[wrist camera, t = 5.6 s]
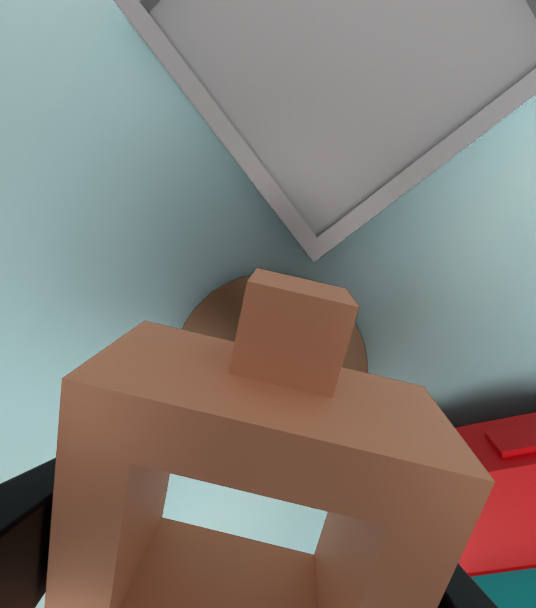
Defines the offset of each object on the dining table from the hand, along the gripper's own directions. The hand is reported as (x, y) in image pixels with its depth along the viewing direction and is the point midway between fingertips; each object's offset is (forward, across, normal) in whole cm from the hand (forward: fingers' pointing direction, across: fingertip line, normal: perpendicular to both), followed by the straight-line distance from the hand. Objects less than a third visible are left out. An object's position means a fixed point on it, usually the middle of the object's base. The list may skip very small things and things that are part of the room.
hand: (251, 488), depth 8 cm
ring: (+1, 0, 0) cm, 1 cm away
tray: (+11, 0, -14) cm, 18 cm away
